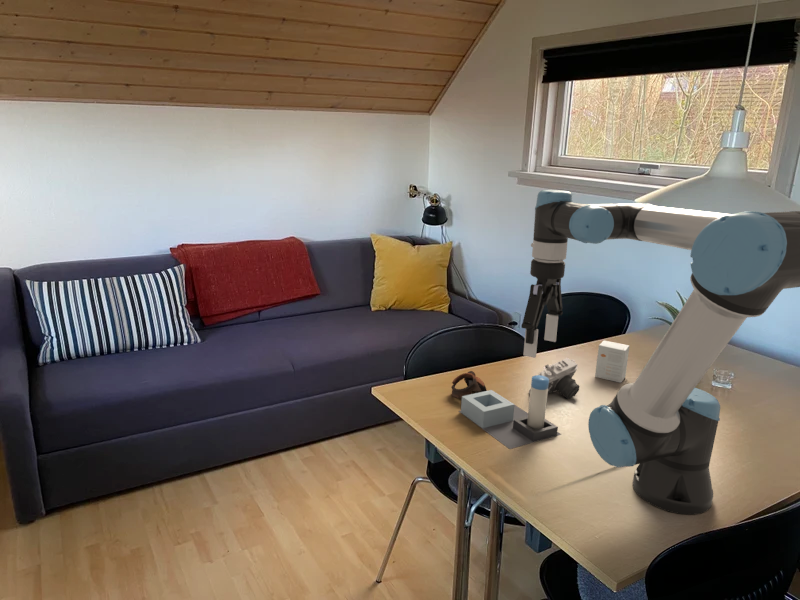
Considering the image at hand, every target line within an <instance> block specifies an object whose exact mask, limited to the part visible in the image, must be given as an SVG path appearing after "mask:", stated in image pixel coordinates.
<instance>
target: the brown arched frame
mask: <svg viewBox="0 0 800 600" xmlns="http://www.w3.org/2000/svg"><path fill="white" fill-rule="evenodd" d="M462 380H464V383H465V384H466V387H464V388H457V387H456V386H457V384H458V383H459V382H460V381H462ZM451 383H452V385H451V396H452V397H453V398H456V399H462V396H466V395H470V394H473V393H472V392H477V393H479V392H484V391H488V390H487V387H486V385H485V383H484V382H483V380H482V379H481V378H479V377H478V376H476V373H475V371H473V370H470V371H467V372H464V373H461V374H459V375H457V376H456V377H455V378H454V379H453V380H452V382H451Z"/></svg>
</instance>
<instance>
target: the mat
mask: <svg viewBox="0 0 800 600" xmlns="http://www.w3.org/2000/svg"><path fill="white" fill-rule="evenodd" d="M458 413H460V414H462V416H464V417H466V418H467V419H468V420H469V421H471V422H472V423H474V425H476V426H477V427H479V428H480V429H482V430H483V431H484V432H486V433H487V434H488V435H489V436H491V437H493V438H494V439H495V440H497V442H499V443H500V444H502V445H503V446H505V447H506V448H507V449H509V450H512V449H515V448H519V447H523V446H526V445H529V444H534V443H537V442H540V441H543V440H547V439H551V438H554V437H558V436H561V435H562V433H560V432H559V431H557V435H555V436H552V437H548V438H545V439H541V440H538V441H534V442H533V441H531V440H530V439H528V438H527V437H526V436H524V435H523V434H521V433H520V432H518V431H517V430H515V429H514V428H513V422H514V420H515V419H519V418H523V417H526V416H528V412H527V411H525V410H524V409H522V408H520V407H519V406H518V405H516V404H515V405H514V416H513V421H509V422H505V423H502V424H498V425H494V426H490V427H486V428H482V427H480V426H479V425H478V424H476V423H475V422H473V421H472V420H471V419H469V418H468V417H467V416H465V415H464V414H463V413H461V410H458Z"/></svg>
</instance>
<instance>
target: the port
mask: <svg viewBox="0 0 800 600" xmlns="http://www.w3.org/2000/svg"><path fill="white" fill-rule="evenodd" d="M514 405H516V404H515V403H513V402H511V401H510V400H508V399H507V398H505V397H503V396H502V395H500V394H499V393H497V392H496V391H494V390H493V389H490V390H487V391H484V392H475V393H472V394H470V395H466V396H462V398H461V405H460V411H461V413H463V414H464V415H465V416H467V417H468V418H469V419H471V420H472V421H473V422H475V423H476V424H478V425H479V426H480V427H482V428H486V427H490V426H494V425H498V424H502V423H505V422H509V421H513V416H514ZM461 413H460V414H461ZM463 414H462V415H463ZM464 415H463V416H464ZM465 416H464V417H465ZM467 417H466V418H467ZM468 418H467V419H468ZM469 419H468V420H469ZM471 420H470V421H471ZM472 421H471V422H472ZM473 422H472V423H473ZM475 423H474V424H475ZM476 424H475V425H476ZM478 425H477V426H478ZM479 426H478V427H479ZM480 427H479V428H480ZM482 428H481V429H482Z"/></svg>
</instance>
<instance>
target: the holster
mask: <svg viewBox="0 0 800 600" xmlns="http://www.w3.org/2000/svg"><path fill="white" fill-rule="evenodd" d="M527 420H528V416H526V417H523V418H519V419H515V420H514V422H513V428H514V429H515V430H517V431H518V432H520V433H521V434H523V435H524V436H526V437H527V438H528V439H530V440H531V441H533V442H534V441H537V442H539V441H538V440H541V439H544V440H546V439H545V438H548V437H551V438H553V437H552V436H555V435H557V432H559V430H558V429H559V426H557V425H556V424H554V423H553V422H551V421H550V420H547V418H545V420H544V428H542V429H539V430H535V431H534V430H533V429H531V428H530V427H528V426H527ZM555 437H556V436H555ZM548 439H549V438H548ZM541 441H542V440H541ZM534 443H535V442H534Z"/></svg>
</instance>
